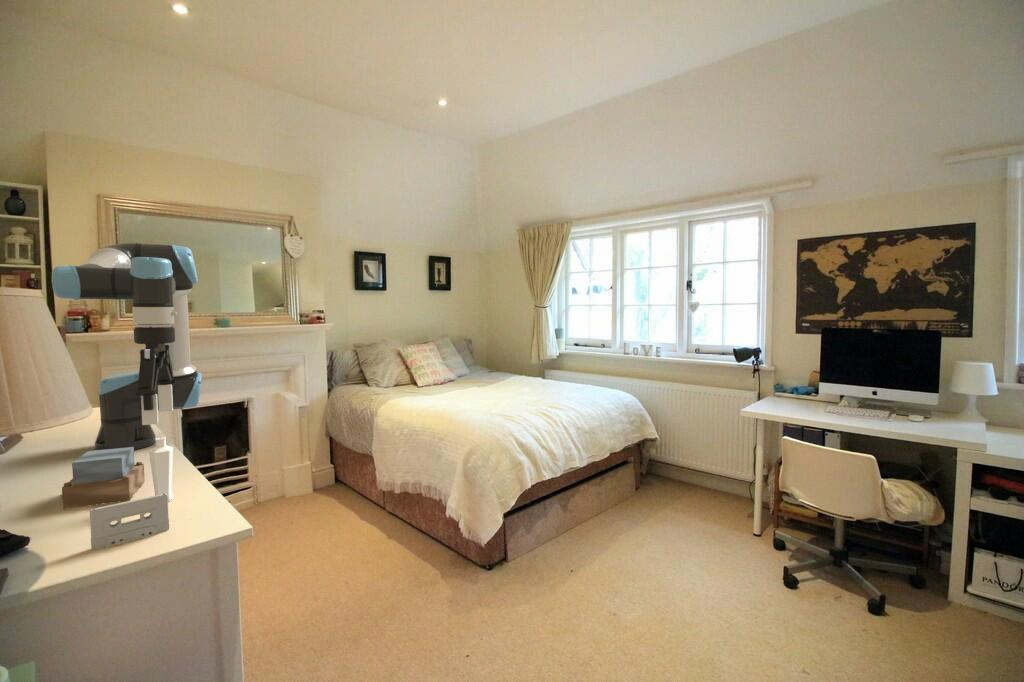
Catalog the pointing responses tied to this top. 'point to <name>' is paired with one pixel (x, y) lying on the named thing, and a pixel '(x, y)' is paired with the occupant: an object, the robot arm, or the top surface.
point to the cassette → (131, 530)
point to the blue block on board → (103, 478)
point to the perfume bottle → (162, 467)
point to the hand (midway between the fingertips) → (158, 417)
